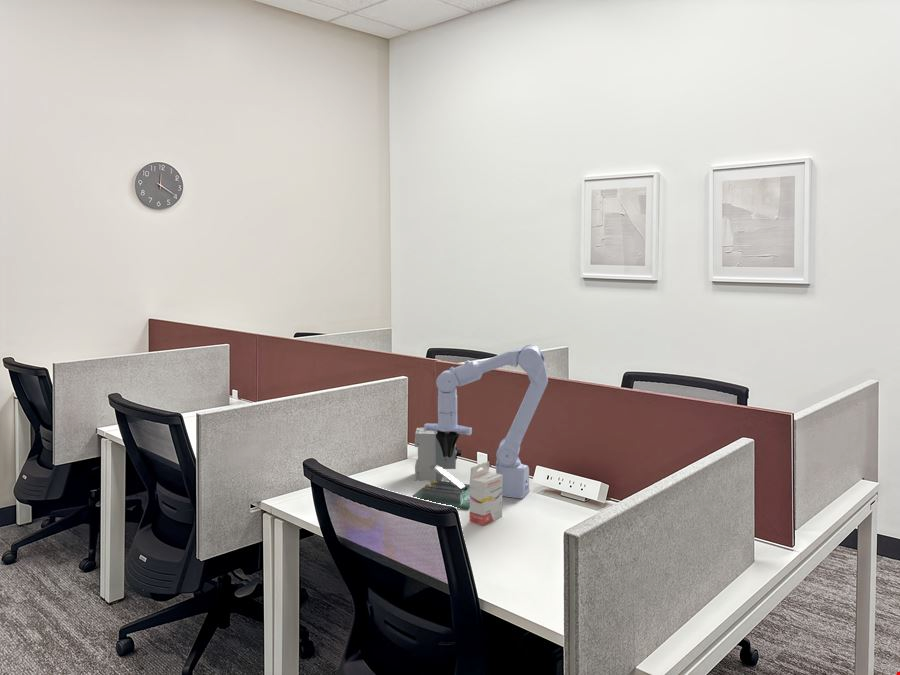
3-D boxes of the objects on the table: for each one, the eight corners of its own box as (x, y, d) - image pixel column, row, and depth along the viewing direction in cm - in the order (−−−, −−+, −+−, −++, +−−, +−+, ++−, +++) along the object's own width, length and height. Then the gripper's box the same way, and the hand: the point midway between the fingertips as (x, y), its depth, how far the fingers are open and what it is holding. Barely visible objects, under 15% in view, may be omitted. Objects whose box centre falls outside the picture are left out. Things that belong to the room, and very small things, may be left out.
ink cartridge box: (484, 526, 181) (484, 471, 179) (468, 522, 184) (468, 467, 182) (503, 516, 188) (503, 463, 186) (488, 512, 191) (488, 460, 189)
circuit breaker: (461, 480, 218) (460, 433, 216) (415, 480, 218) (414, 433, 216) (461, 473, 225) (460, 427, 223) (416, 473, 225) (416, 427, 223)
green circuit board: (483, 494, 205) (483, 481, 204) (467, 510, 193) (467, 496, 192) (427, 487, 211) (427, 474, 211) (408, 501, 200) (408, 487, 199)
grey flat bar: (465, 488, 201) (466, 486, 201) (461, 491, 198) (463, 489, 198) (436, 466, 204) (438, 464, 203) (432, 469, 201) (434, 467, 201)
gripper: (419, 412, 206) (420, 457, 207) (465, 416, 200) (465, 462, 202) (429, 407, 212) (429, 451, 214) (474, 411, 207) (474, 456, 208)
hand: (447, 456), depth 208 cm, fingers closed
